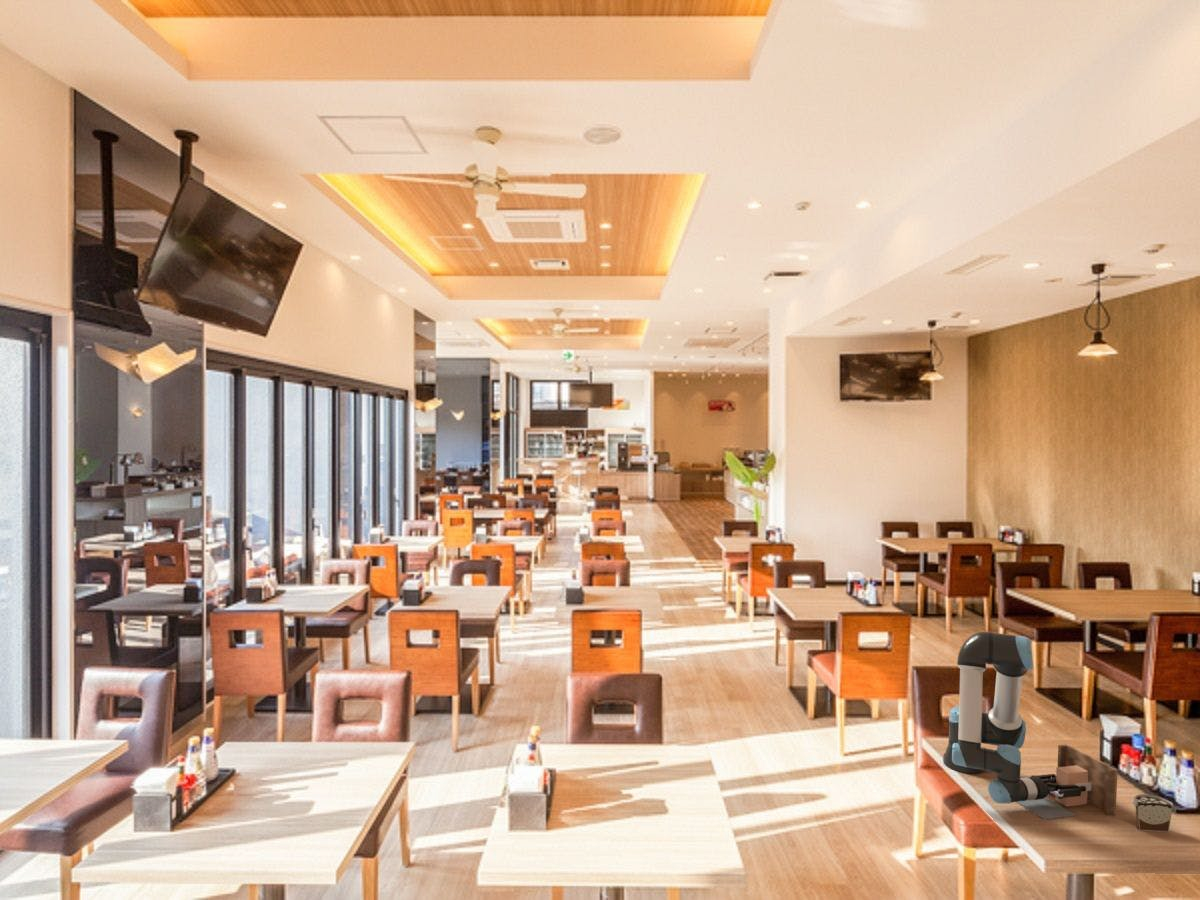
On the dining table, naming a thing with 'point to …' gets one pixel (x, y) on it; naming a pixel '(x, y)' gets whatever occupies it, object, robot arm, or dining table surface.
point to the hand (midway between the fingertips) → (1083, 782)
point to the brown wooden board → (1093, 777)
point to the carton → (1072, 783)
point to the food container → (1153, 813)
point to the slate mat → (1046, 808)
